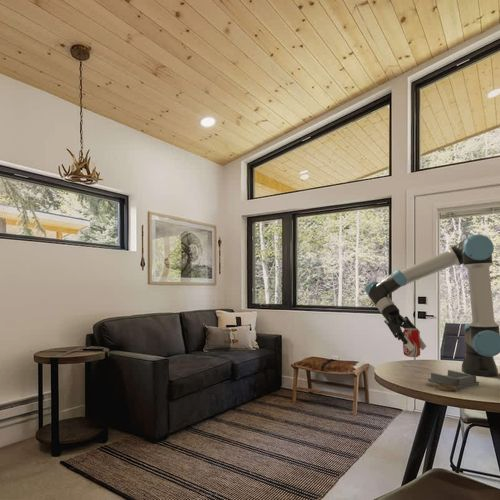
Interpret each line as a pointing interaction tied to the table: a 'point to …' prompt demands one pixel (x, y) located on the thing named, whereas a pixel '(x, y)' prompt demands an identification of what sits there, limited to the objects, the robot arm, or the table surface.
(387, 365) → the table surface
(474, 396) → the table surface
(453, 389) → the walnut coaster
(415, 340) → the soda can
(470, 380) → the dock
